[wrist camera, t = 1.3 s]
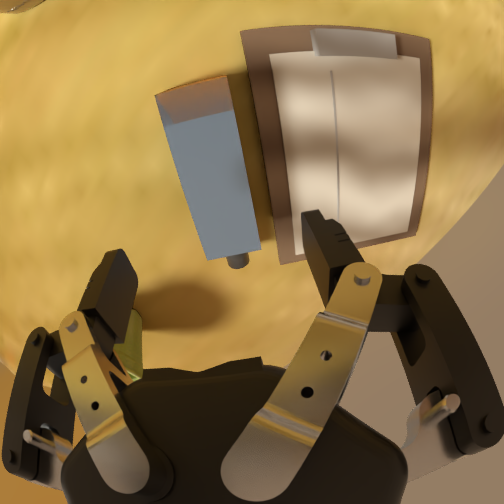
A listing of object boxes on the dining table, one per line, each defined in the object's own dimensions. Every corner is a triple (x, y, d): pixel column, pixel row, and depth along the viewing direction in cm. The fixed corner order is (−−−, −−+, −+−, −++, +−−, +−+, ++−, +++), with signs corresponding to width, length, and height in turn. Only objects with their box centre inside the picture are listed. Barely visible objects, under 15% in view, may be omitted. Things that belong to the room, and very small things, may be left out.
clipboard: (240, 32, 13) (242, 28, 12) (424, 38, 13) (438, 39, 11) (279, 260, 26) (282, 273, 24) (412, 232, 25) (421, 242, 24)
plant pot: (163, 338, 32) (159, 400, 26) (100, 336, 31) (88, 393, 25) (144, 288, 26) (130, 362, 20) (71, 289, 26) (47, 353, 19)
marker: (167, 89, 15) (154, 95, 12) (225, 75, 15) (226, 76, 12) (215, 250, 24) (215, 282, 21) (259, 242, 24) (265, 273, 21)
